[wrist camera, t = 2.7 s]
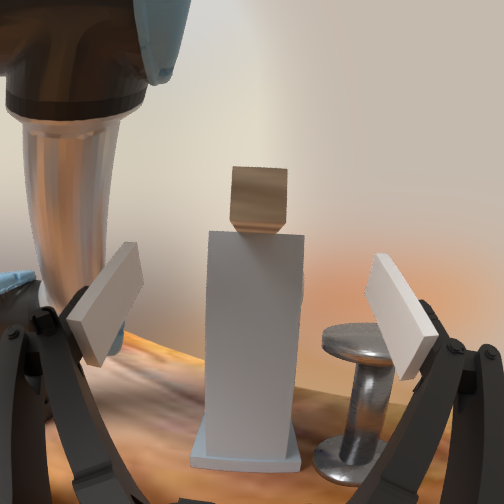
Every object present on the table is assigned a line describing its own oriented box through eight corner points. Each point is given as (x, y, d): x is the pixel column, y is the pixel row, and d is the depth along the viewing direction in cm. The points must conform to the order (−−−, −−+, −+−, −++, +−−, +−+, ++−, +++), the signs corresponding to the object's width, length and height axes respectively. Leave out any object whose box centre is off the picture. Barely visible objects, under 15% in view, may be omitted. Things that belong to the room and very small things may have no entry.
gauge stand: (299, 472, 30) (324, 235, 31) (190, 466, 30) (189, 229, 31) (289, 424, 43) (303, 242, 44) (205, 420, 43) (208, 237, 44)
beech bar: (286, 222, 21) (287, 168, 21) (229, 220, 21) (232, 166, 21) (268, 242, 49) (269, 218, 49) (243, 241, 49) (245, 217, 49)
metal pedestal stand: (284, 466, 32) (298, 336, 32) (338, 427, 41) (354, 318, 42) (376, 504, 22) (421, 360, 22) (414, 449, 31) (444, 330, 32)
